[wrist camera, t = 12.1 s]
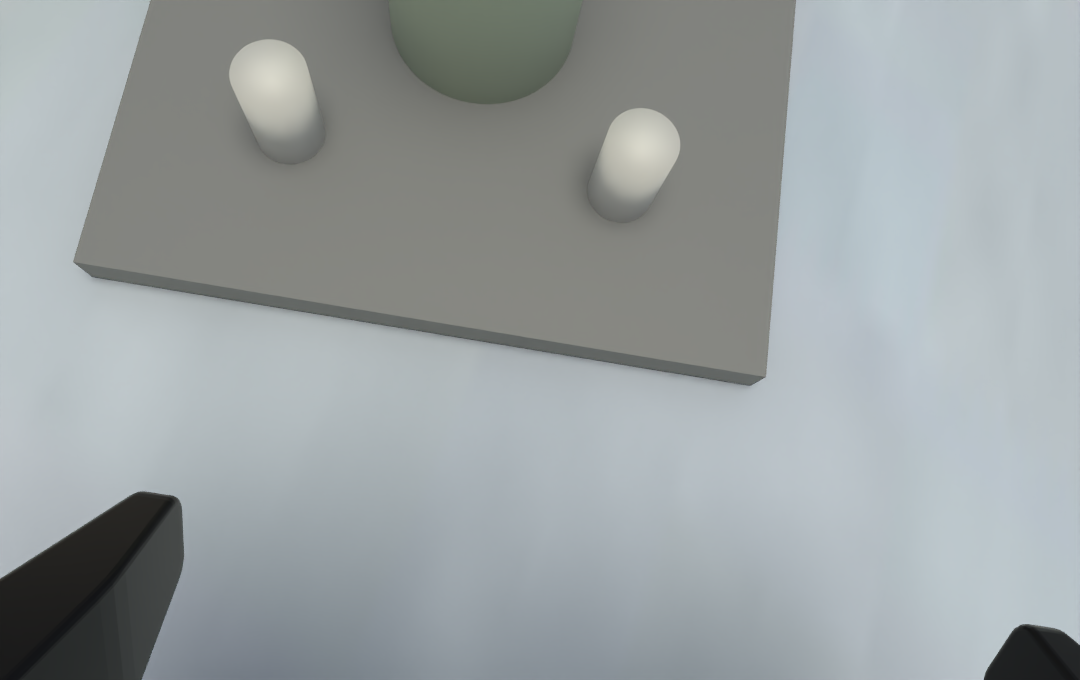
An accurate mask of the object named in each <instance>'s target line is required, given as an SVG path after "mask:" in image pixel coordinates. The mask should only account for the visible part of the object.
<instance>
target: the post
mask: <svg viewBox="0 0 1080 680" xmlns="http://www.w3.org/2000/svg"><path fill="white" fill-rule="evenodd" d="M582 1H583V0H388V2H389V11H390V21H391V29H392V35H393V38H394V42H395V45H396V47H397V49H398V52H399V54H400V56H401V57H402V59H403V60H404V62H405V64H406V65H407V66H408V67H409V69H410V70H411V71H412V72H413V73H414V74H415V75H416V76H417V77H418V78H419V79H420V80H421V81H422V82H424V83H425V84H427V85H428V86H429V87H431V88H432V89H434V90H436V91H438V92H439V93H441V94H443V95H446V96H448V97H451V98H453V99H457V100H460V101H464V102H469V103H476V104H498V103H505V102H510V101H515V100H517V99H520V98H523V97H526V96H528V95H530V94H532V93H534V92H536V91H537V90H539V89H540V88H542V87H543V86H545V85H546V84H547V83H548V82H549V81H550V80H551V79H553V78H554V76H555V75H556V74H557V73H558V72H559V70H560V69H561V68H562V66H563V64H564V63H565V61H566V59H567V57H568V54H569V52H570V49H571V46H572V42H573V38H574V34H575V30H576V26H577V22H578V17H579V13H580V9H581V5H582Z"/></svg>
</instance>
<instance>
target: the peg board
mask: <svg viewBox="0 0 1080 680" xmlns="http://www.w3.org/2000/svg"><path fill="white" fill-rule="evenodd" d="M795 4H796V0H583V1H582V5H581V9H580V13H579V17H578V22H577V26H576V30H575V34H574V38H573V42H572V46H571V49H570V52H569V54H568V57H567V59H566V61H565V63H564V64H563V66H562V68H561V69H560V70H559V72H558V73H557V74H556V75H555V76H554V78H553V79H551V80H550V81H549V82H548V83H547V84H546V85H545V86H543V87H542V88H540V89H539V90H537V91H536V92H534V93H532V94H530V95H528V96H526V97H523V98H520V99H517V100H515V101H510V102H505V103H498V104H476V103H469V102H464V101H460V100H457V99H453V98H451V97H448V96H446V95H443V94H441V93H439V92H438V91H436V90H434V89H432V88H431V87H429V86H428V85H427V84H425V83H424V82H422V81H421V80H420V79H419V78H418V77H417V76H416V75H415V74H414V73H413V72H412V71H411V70H410V69H409V67H408V66H407V65H406V64H405V62H404V60H403V59H402V57H401V56H400V54H399V52H398V49H397V47H396V45H395V42H394V38H393V35H392V29H391V21H390V11H389V2H388V0H151V1H150V4H149V8H148V11H147V15H146V18H145V21H144V25H143V28H142V31H141V35H140V38H139V42H138V45H137V48H136V52H135V55H134V58H133V62H132V65H131V69H130V72H129V75H128V79H127V82H126V85H125V89H124V92H123V96H122V99H121V102H120V106H119V109H118V112H117V116H116V119H115V122H114V126H113V129H112V133H111V136H110V139H109V143H108V146H107V149H106V153H105V156H104V160H103V163H102V166H101V170H100V173H99V176H98V180H97V183H96V187H95V190H94V193H93V197H92V200H91V203H90V207H89V210H88V214H87V217H86V220H85V224H84V227H83V230H82V234H81V237H80V241H79V244H78V247H77V251H76V254H75V257H74V261H73V262H74V263H75V264H76V265H78V266H79V267H80V268H82V269H83V270H84V271H85V272H87V273H88V274H89V275H91V276H92V277H97V278H103V279H109V280H115V281H121V282H127V283H133V284H140V285H146V286H152V287H158V288H164V289H170V290H176V291H182V292H188V293H194V294H200V295H206V296H212V297H218V298H224V299H230V300H236V301H242V302H248V303H254V304H261V305H267V306H273V307H279V308H285V309H291V310H297V311H303V312H309V313H315V314H321V315H327V316H333V317H339V318H345V319H351V320H357V321H363V322H369V323H375V324H382V325H388V326H394V327H400V328H406V329H412V330H418V331H424V332H430V333H436V334H442V335H448V336H454V337H460V338H466V339H472V340H478V341H484V342H490V343H497V344H503V345H509V346H515V347H521V348H527V349H533V350H539V351H545V352H551V353H557V354H563V355H569V356H575V357H581V358H587V359H593V360H599V361H605V362H611V363H618V364H624V365H630V366H636V367H642V368H648V369H654V370H660V371H666V372H672V373H678V374H684V375H690V376H696V377H702V378H708V379H714V380H720V381H726V382H732V383H739V384H745V385H752V384H754V383H756V382H758V381H759V380H761V379H763V378H765V377H766V368H767V355H768V343H769V330H770V318H771V305H772V293H773V280H774V268H775V255H776V243H777V230H778V218H779V205H780V192H781V180H782V167H783V155H784V142H785V130H786V117H787V105H788V92H789V80H790V67H791V54H792V42H793V29H794V17H795Z"/></svg>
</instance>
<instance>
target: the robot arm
mask: <svg viewBox="0 0 1080 680" xmlns="http://www.w3.org/2000/svg"><path fill="white" fill-rule="evenodd" d="M183 560H184V542H183V521H182V506H181V503H180V501H179V499H178V498H176V497H174V496H171V495H164V494H157V493H151V492H137V493H135V494H132V495H131V496H129V497H127V498H126V499H124V500H123V501H121V502H120V503H118V504H116V505H115V506H113V507H112V508H110V509H109V510H107V511H105V512H104V513H102V514H101V515H99V516H98V517H96V518H94V519H93V520H91V521H90V522H88V523H87V524H85V525H84V526H82V527H80V528H79V529H77V530H76V531H74V532H73V533H71V534H69V535H68V536H66V537H65V538H63V539H62V540H60V541H59V542H57V543H55V544H54V545H52V546H51V547H49V548H48V549H46V550H44V551H43V552H41V553H40V554H38V555H37V556H35V557H34V558H32V559H30V560H29V561H27V562H26V563H24V564H23V565H21V566H19V567H18V568H16V569H15V570H13V571H12V572H10V573H9V574H7V575H5V576H4V577H2V578H1V579H0V680H142V677H143V674H144V672H145V669H146V666H147V664H148V661H149V658H150V655H151V653H152V650H153V647H154V645H155V642H156V639H157V637H158V634H159V631H160V629H161V626H162V623H163V621H164V618H165V615H166V613H167V610H168V607H169V605H170V602H171V599H172V597H173V594H174V591H175V589H176V586H177V583H178V581H179V578H180V575H181V571H182V566H183ZM984 680H1080V645H1079V644H1078V643H1077V642H1075V641H1074V640H1073V639H1072V638H1071V637H1069V636H1068V635H1067V634H1065V633H1064V632H1062V631H1060V630H1058V629H1055V628H1050V627H1043V626H1036V625H1030V624H1023V625H1020V626H1018V627H1017V628H1015V629H1014V630H1013V631H1012V632H1011V634H1010V635H1009V637H1008V639H1007V640H1006V642H1005V643H1004V645H1003V646H1002V648H1001V649H1000V651H999V652H998V654H997V655H996V657H995V658H994V660H993V661H992V663H991V664H990V666H989V667H988V669H987V671H986V673H985V677H984Z"/></svg>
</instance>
